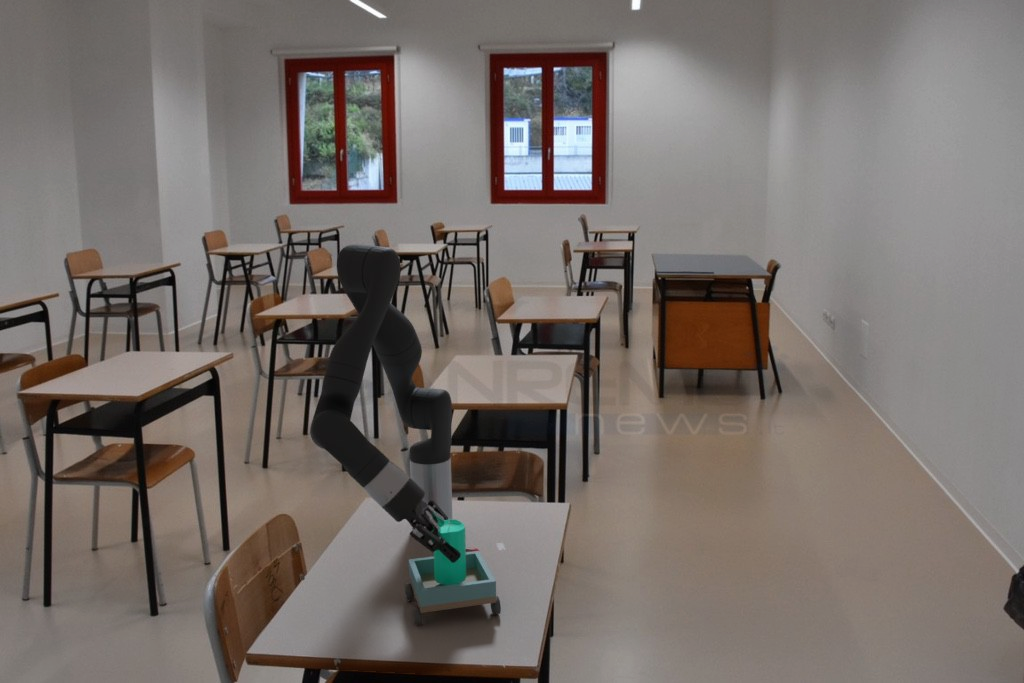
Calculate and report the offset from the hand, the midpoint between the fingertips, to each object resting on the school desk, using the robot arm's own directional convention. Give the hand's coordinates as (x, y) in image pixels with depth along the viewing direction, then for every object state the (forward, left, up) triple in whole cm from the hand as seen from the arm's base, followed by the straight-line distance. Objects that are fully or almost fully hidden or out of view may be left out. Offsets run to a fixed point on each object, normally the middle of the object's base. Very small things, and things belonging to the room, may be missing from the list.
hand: (459, 552), depth 177 cm
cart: (-1, -2, -11) cm, 11 cm away
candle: (-1, -2, -5) cm, 6 cm away
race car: (-15, +3, -12) cm, 20 cm away
